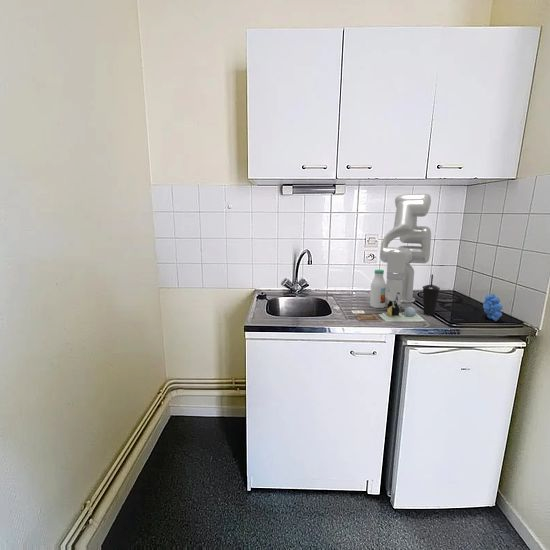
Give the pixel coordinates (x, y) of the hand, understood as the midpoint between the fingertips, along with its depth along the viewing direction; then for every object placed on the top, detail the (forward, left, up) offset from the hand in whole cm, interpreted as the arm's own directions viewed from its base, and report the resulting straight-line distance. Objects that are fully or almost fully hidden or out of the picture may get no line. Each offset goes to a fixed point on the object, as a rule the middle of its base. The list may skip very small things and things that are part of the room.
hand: (392, 313), depth 144 cm
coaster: (0, -12, -2) cm, 12 cm away
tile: (-9, -14, -2) cm, 17 cm away
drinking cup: (-6, +20, -3) cm, 21 cm away
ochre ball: (0, 0, +1) cm, 1 cm away
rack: (0, +4, -2) cm, 5 cm away
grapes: (+2, +44, -3) cm, 44 cm away
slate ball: (0, +8, +1) cm, 8 cm away
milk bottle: (-20, -1, -3) cm, 20 cm away
